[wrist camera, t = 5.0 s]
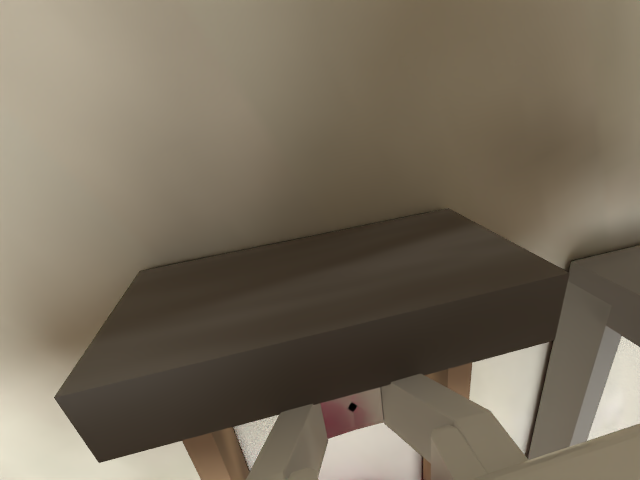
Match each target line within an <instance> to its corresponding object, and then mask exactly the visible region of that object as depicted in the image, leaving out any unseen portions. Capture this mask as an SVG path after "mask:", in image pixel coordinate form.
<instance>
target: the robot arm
mask: <svg viewBox="0 0 640 480" xmlns="http://www.w3.org/2000/svg"><path fill="white" fill-rule="evenodd" d="M383 422H384V423H385V424H386V425H387V426H388V427H389V428H390V429H391V430H392V431H394V432H395V433H396V434H397V435H398V436H399V437H401V438H402V439H403V440H404V441H405V442H406V443H408V444H409V445H410V446H411V447H412V448H413V449H414V450H416V451H417V452H418V453H419V454H420V455H421V456H423V457H424V458H425V459H426V460H427V461H428V462H430V463H431V480H640V424H637V425H634V426H631V427H628V428H625V429H622V430H619V431H616V432H613V433H610V434H607V435H604V436H601V437H598V438H595V439H592V440H588V441H585V442H582V443H579V444H576V445H573V446H570V447H567V448H564V449H561V450H558V451H555V452H552V453H549V454H546V455H543V456H540V457H537V458H534V459H531V460H528V459H527V457H526V456H525V455H524V454H523V452H522V451H521V450H520V449H519V447H518V446H517V445H516V443H515V442H514V441H513V440H512V438H511V437H510V436H509V434H508V433H507V432H506V431H505V429H504V428H503V427H502V425H501V424H500V423H499V422H498V420H497V419H496V418H495V416H494V415H493V414H492V413H491V411H489V410H487V409H486V408H484V407H482V406H480V405H478V404H476V403H474V402H473V401H471V400H469V399H467V398H465V397H463V396H462V395H460V394H458V393H456V392H454V391H452V390H450V389H449V388H447V387H445V386H443V385H441V384H439V383H437V382H436V381H434V380H432V379H430V378H428V377H426V376H424V375H423V374H417V375H414V376H410V377H407V378H403V379H400V380H396V381H393V382H391V384H390V385H387V386H383V387H379V388H376V389H372V390H368V391H364V392H361V393H357V394H353V395H350V396H346V397H342V398H338V399H335V400H331V401H327V402H323V403H320V404H316V405H313V404H309V405H306V406H302V407H298V408H295V409H291V410H287V411H284V412H281V413H280V415H279V416H278V418H277V420H276V422H275V424H274V426H273V428H272V430H271V432H270V434H269V436H268V438H267V440H266V442H265V444H264V445H263V447H262V449H261V451H260V453H259V455H258V457H257V459H256V461H255V463H254V465H253V467H252V469H251V471H250V473H249V474H248V476H247V478H246V480H318V475H319V472H320V468H321V464H322V461H323V457H324V454H325V450H326V447H327V443H328V439H329V438H332V437H335V436H338V435H341V434H344V433H347V432H350V431H353V430H356V429H360V428H364V427H367V426H371V425H375V424H379V423H383Z"/></svg>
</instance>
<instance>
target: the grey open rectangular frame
mask: <svg viewBox="0 0 640 480" xmlns="http://www.w3.org/2000/svg"><path fill="white" fill-rule="evenodd" d="M569 273H570V274H569V279H568V283H567V288H566V292H565V297H564V301H563V306H562V310H561V315H560V319H559V324H558V328H557V333H556V337H555V340H554V342H553V346H552V351H551V355H550V360H549V365H548V369H547V374H546V378H545V383H544V387H543V392H542V396H541V401H540V405H539V410H538V415H537V419H536V424H535V428H534V433H533V437H532V442H531V446H530V451H529V455H528V460H531V459H534V458H537V457H540V456H543V455H546V454H549V453H552V452H555V451H558V450H561V449H564V448H567V447H570V446H573V445H576V444H579V443H582V442H585V441H587V438H588V435H589V432H590V429H591V426H592V423H593V420H594V417H595V414H596V411H597V408H598V405H599V402H600V399H601V396H602V393H603V390H604V387H605V384H606V381H607V378H608V375H609V372H610V369H611V366H612V363H613V360H614V357H615V354H616V351H617V348H618V345H619V342H620V339H621V336H623V337H625V338H626V339H628V340H630V341H631V342H633V343H634V344H636V345H638V346H639V347H640V245H638V246H634V247H630V248H626V249H621V250H617V251H613V252H609V253H604V254H600V255H596V256H592V257H588V258H583V259H579V260H575V261H571V265H570V269H569Z"/></svg>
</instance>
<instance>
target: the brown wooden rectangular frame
mask: <svg viewBox="0 0 640 480" xmlns="http://www.w3.org/2000/svg"><path fill="white" fill-rule="evenodd" d="M569 274H570V273H569V272H567V271H565V270H563V269H561V268H560V267H558V266H556V265H554V264H552V263H550V262H548V261H546V260H544V259H543V258H541V257H539V256H537V255H535V254H533V253H531V252H529V251H528V250H526V249H524V248H522V247H520V246H518V245H516V244H514V243H512V242H511V241H509V240H507V239H505V238H503V237H501V236H499V235H497V234H496V233H494V232H492V231H490V230H488V229H486V228H484V227H482V226H481V225H479V224H477V223H475V222H473V221H471V220H469V219H467V218H465V217H464V216H462V215H460V214H458V213H456V212H454V211H452V210H450V209H449V208H448V209H443V210H438V211H433V212H428V213H423V214H418V215H413V216H409V217H404V218H399V219H394V220H389V221H384V222H379V223H374V224H369V225H364V226H359V227H354V228H350V229H345V230H340V231H335V232H330V233H325V234H320V235H315V236H310V237H305V238H300V239H295V240H290V241H286V242H281V243H276V244H271V245H266V246H261V247H256V248H251V249H246V250H241V251H236V252H231V253H226V254H222V255H217V256H212V257H207V258H202V259H197V260H192V261H187V262H182V263H177V264H172V265H167V266H163V267H158V268H153V269H148V270H143V271H140V272H139V273H138V275H137V276H136V277H135V279H134V280H133V282H132V283H131V285H130V286H129V288H128V289H127V291H126V292H125V294H124V295H123V297H122V298H121V300H120V301H119V303H118V304H117V305H116V307H115V308H114V310H113V311H112V313H111V314H110V316H109V317H108V319H107V320H106V322H105V323H104V325H103V326H102V328H101V329H100V331H99V332H98V333H97V335H96V336H95V338H94V339H93V341H92V342H91V344H90V345H89V347H88V348H87V350H86V351H85V353H84V354H83V356H82V357H81V359H80V360H79V361H78V363H77V364H76V366H75V367H74V369H73V370H72V372H71V373H70V375H69V376H68V378H67V379H66V381H65V382H64V384H63V385H62V387H61V388H60V389H59V391H58V392H57V394H56V395H55V397H54V398H55V400H56V401H57V403H58V404H59V406H60V407H61V408H62V410H63V411H64V413H65V414H66V416H67V417H68V419H69V420H70V422H71V423H72V424H73V426H74V427H75V429H76V430H77V432H78V433H79V435H80V436H81V437H82V439H83V440H84V442H85V443H86V445H87V446H88V448H89V449H90V451H91V452H92V453H93V455H94V456H95V458H96V459H97V461H98V462H99V463H100V462H104V461H108V460H112V459H115V458H119V457H123V456H126V455H130V454H134V453H138V452H141V451H145V450H149V449H152V448H156V447H160V446H164V445H167V444H171V443H175V442H179V441H183V444H184V446H185V448H186V450H187V452H188V454H189V456H190V458H191V460H192V462H193V464H194V466H195V468H196V470H197V472H198V474H199V476H200V478H201V480H246V478H247V476H248V474H249V470H248V468H247V465H246V462H245V460H244V457H243V454H242V452H241V449H240V446H239V444H238V441H237V438H236V436H235V433H234V431H233V428H232V427H234V426H238V425H242V424H245V423H249V422H253V421H257V420H260V419H264V418H268V417H271V416H275V415H279V414H280V413H281V412H284V411H287V410H291V409H295V408H298V407H302V406H306V405H309V404H313V405H316V404H320V403H323V402H327V401H331V400H335V399H338V398H342V397H346V396H350V395H353V394H357V393H361V392H364V391H368V390H372V389H376V388H379V387H383V386H387V385H390V384H391V382H393V381H396V380H400V379H403V378H407V377H410V376H414V375H417V374H423V375H424V376H426V377H428V378H430V379H432V380H434V381H436V382H437V383H439V384H441V385H443V386H445V387H447V388H449V389H450V390H452V391H454V392H456V393H458V394H460V395H462V396H463V397H465V398H467V399H469V393H470V382H471V370H472V362H476V361H480V360H483V359H487V358H491V357H495V356H498V355H502V354H506V353H509V352H513V351H517V350H521V349H524V348H528V347H532V346H535V345H539V344H543V343H547V342H550V341H554V340H555V337H556V333H557V328H558V324H559V319H560V315H561V310H562V306H563V301H564V297H565V292H566V288H567V283H568V279H569ZM423 480H431V463H430V462H428V461H427V460H426V459H425V458H424V457H423Z"/></svg>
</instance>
